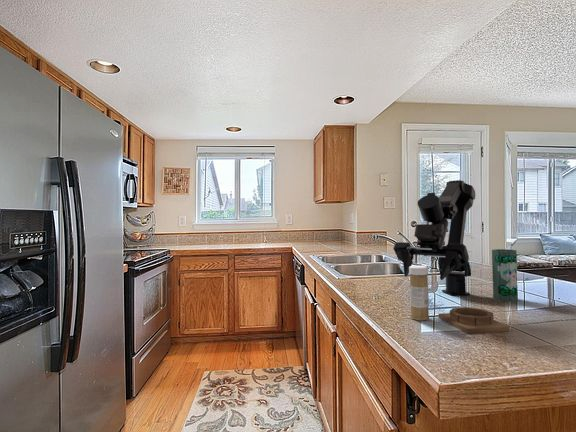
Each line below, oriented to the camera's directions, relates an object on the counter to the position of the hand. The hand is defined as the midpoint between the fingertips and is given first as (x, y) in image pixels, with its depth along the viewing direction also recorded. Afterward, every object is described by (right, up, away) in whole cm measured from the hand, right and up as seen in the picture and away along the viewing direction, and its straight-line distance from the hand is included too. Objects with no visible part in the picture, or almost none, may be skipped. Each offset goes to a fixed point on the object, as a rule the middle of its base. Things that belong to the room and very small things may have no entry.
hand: (422, 277), depth 89 cm
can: (+31, -10, +14) cm, 36 cm away
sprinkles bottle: (-2, -10, -2) cm, 11 cm away
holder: (+9, -10, -7) cm, 15 cm away
